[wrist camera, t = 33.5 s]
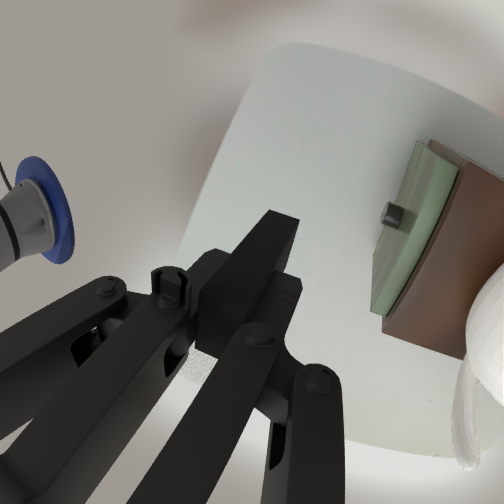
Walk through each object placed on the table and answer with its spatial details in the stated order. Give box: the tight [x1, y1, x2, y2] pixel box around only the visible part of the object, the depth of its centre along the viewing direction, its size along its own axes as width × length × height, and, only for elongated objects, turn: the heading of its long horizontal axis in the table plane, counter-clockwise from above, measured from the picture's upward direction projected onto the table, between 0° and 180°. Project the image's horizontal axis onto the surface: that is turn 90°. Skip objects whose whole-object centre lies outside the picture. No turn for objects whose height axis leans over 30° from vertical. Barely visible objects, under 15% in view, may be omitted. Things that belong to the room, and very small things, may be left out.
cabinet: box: [382, 139, 504, 360], centre depth 16 cm, size 15×12×10 cm
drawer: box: [370, 141, 459, 317], centre depth 17 cm, size 15×10×8 cm
